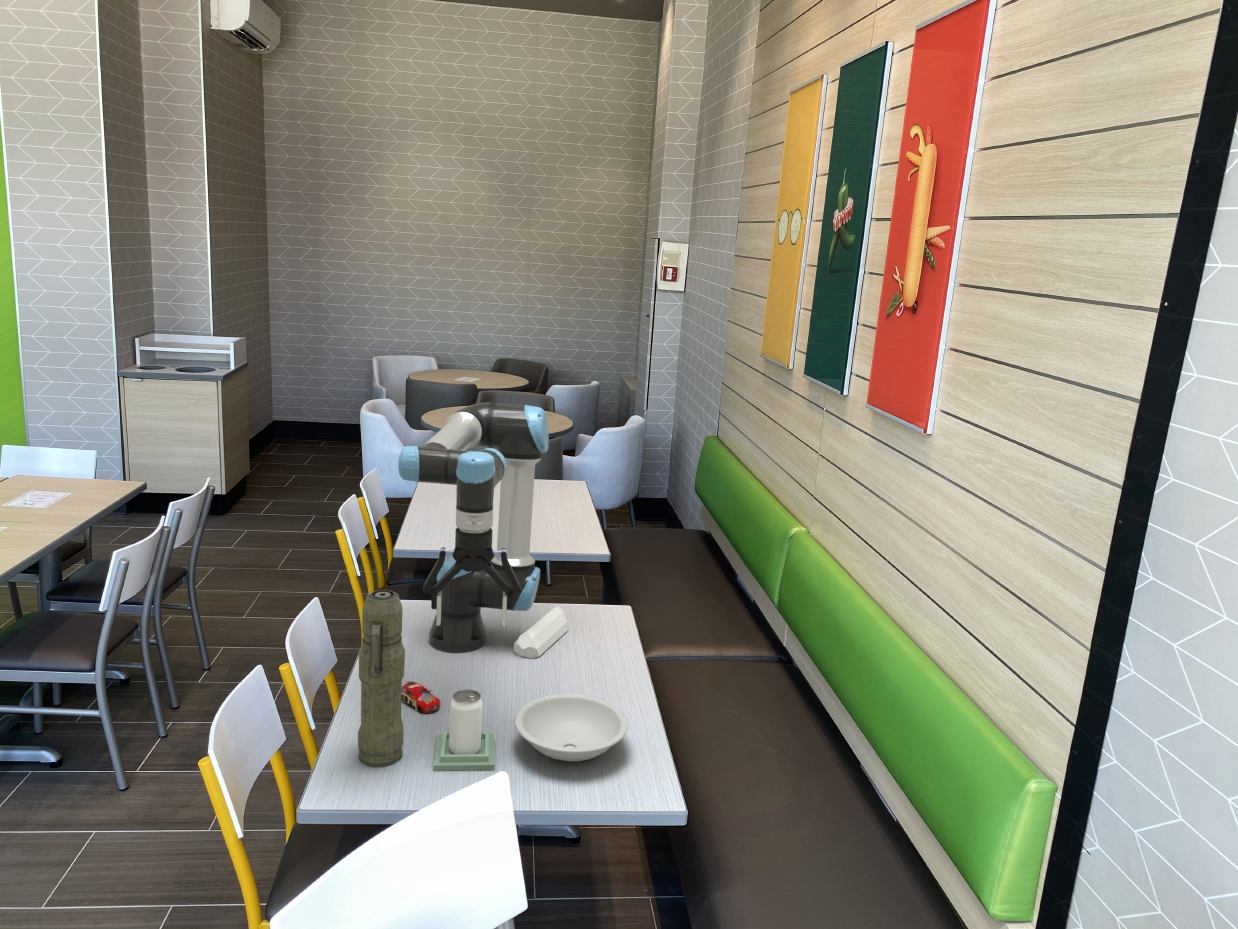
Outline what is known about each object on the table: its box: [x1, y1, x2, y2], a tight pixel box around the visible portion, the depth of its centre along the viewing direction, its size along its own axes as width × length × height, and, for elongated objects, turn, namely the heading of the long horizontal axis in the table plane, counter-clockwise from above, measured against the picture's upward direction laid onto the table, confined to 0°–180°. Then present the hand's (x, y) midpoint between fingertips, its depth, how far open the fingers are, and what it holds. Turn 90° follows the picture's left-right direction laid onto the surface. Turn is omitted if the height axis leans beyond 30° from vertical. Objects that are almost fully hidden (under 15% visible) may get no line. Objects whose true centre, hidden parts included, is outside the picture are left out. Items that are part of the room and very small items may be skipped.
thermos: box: [357, 589, 406, 768], centre depth 174 cm, size 9×12×35 cm
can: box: [449, 688, 483, 754], centre depth 179 cm, size 6×6×12 cm
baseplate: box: [433, 731, 496, 772], centre depth 180 cm, size 12×12×2 cm
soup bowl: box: [514, 693, 629, 762], centre depth 185 cm, size 24×24×7 cm
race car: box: [401, 680, 441, 715], centre depth 200 cm, size 13×5×4 cm, turn 49°
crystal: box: [512, 605, 569, 659], centre depth 237 cm, size 7×7×24 cm
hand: (471, 623), depth 184 cm, fingers open, 13 cm apart
